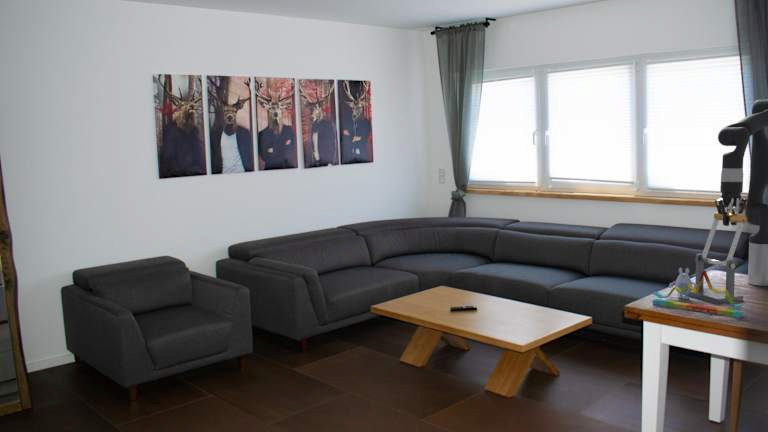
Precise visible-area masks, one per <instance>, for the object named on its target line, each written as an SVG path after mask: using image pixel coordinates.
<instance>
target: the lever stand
mask: <svg viewBox="0 0 768 432" xmlns="http://www.w3.org/2000/svg"><path fill="white" fill-rule="evenodd" d="M702 254H703V253H696V254H695V282H694V283H695V284H697V285H698V283H699V280H700V277H701V274H702V271H705V266H704V265H705V262H701V261H700V258H701V256H702ZM726 260H727V259H726ZM726 260H725V262H726V267H725V268H726V269H725V272H726V273H725V274H726V275H725V290H727V291H728V293H729V295H730V296H731V298H732V300H733V302H734V303H738V302H744V295H741V294H738V293H735V275H736V272H735V271H736V269H735V268H736V259H732V260H727V261H726ZM704 279H705V277H704V276H703V279H702V281H701V284H700V287H699V290H698V292H697V293H694V292H693V291H692V290H691V292H690V293H689V294H687V296H689V298H695V299H696V300H697V299H698V300H700V301H704V302H708V303H711V304H715V305H723V304H730V302H729V300H728V298H727V296H726V294H725V293H716V292H714V291H712V290H710V289H709V287H708V286H707V287H704V282H705V281H704ZM714 288H715V287H714ZM715 289H718V290H721V289H720V288H715Z"/></svg>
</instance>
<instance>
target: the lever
mask: <svg viewBox="0 0 768 432" xmlns="http://www.w3.org/2000/svg"><path fill="white" fill-rule="evenodd" d="M729 216H730V218H729V223H731V222H736V223H737V224H738V225H737V228H736V231H735V233H734V237H733V240H732V243H731V245H730V249H729V252H728V254H727V258H726V260H725V261H721V260H719V259H718V260H717V259H713V258H707V256H708V253H709V251H710V248H711V245H712V241H713V239H714V235H715V234H716V231H717V227H718V224H719V222H720V221H722V222H723V215H721V214H719V213H718V211H716V212H715V213H714V214H713V222H712V225H711V228H710V231H709V234H708V236H707V239H706V242H705V245H704V248H703V250H702V253H701V254H702V256H701V258H700V261H701V262H704V264H705V263H706V264H711V265H715V266H719V267H723V268H726V261H727V260H733V258H734V255H735V251H736V249H737V246H738V244H739V240H740V237H741V234H742V231H743V229H744V225H745V224H746V223H748V222H747V217H746V216H745V215H743V214H739V215H736V214H731V213H730V214H729Z"/></svg>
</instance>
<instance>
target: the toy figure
mask: <svg viewBox="0 0 768 432" xmlns="http://www.w3.org/2000/svg"><path fill="white" fill-rule="evenodd" d="M678 273H679V274H678V276H677V278H676V280H674V281H672V282H670V283H669V284H668V288H670V289H672V288H673V287H676V286H677V287H678V288H680V289H681V290H684V289H685V288H686V287H687V286H688V285H692V286H693V285H694V286H693V287H694V288H695V289H696V288H697V284H695V283H696V282H693V281H692V280H691V277H690V276H689V273H690V268H689V267H686V268H685V272H683V268H682V267H679V268H678ZM675 291H676V292H677V293H678V294H679V295H677V298H678V299H682V300H683V299H685V300H689V299H690V296H687V294H689V293H690V292H691V289H690V288H689V287H688V288H687V289H686V290H685V291H684V292H682V293H679V292H678V291H677V290H675Z"/></svg>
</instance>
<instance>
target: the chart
mask: <svg viewBox="0 0 768 432" xmlns="http://www.w3.org/2000/svg"><path fill="white" fill-rule="evenodd" d="M703 276H704V279H705V282H706V284H707V288H708V287H709V289H710V290H712V291H714V292H716V293H725V294H726V296H727V298H728V300H729V302H730V303H729V304H730V307H732V308H742V307H743V306H744V305H743V304H735V302H733V300H732V298H731V296H730V295H729V293H728V291H727V290H726V289H725V290H724V289H723V290H722V289H720V290H718V289H719V288H716V289H715V287H713V286H712V285H713V284H712V283H711V281H710V277H709V276H708V274H707V271H706V270H704V271H702V274H701V277H700V280H699V283H698V285H697V288H696V289H695V288H694V286H693V284H692V285H688V286H687V287H686V288H685V289H684V290H681V289H680V288H678V287H677V286H676V287H675V286H673V287H672V288H671V290H670V292H669V293H668V294H667V295H663V294H661V293H660V292H658V291H653V293H652V294H653V295H654V296H656V297H658V298H654V299H652V305H654V306H660V307H667V308H672V309H680V310H686V311H693V312H699V313H706V314H710V315H711V314H712V315H717V316H725V317H732V318H737V319H740V318H742V317H743V310H742V311H741V310H737V309H729V308H728V309H727V308H722V307H715V306H707V305H701V304H694V303H687V302H683V301H682V302H681V301H674V300H667V298H669V297H671V295H672V293H674V291H676V290H677V291H678V292H679V293H682V292H684V291H685V290H686V289H687V288H688V287H689V288H690V289H691V290H692V291H693V292H694V293H697V292H698V290H699V287H700V284H701V281H702V279H703ZM677 291H676V292H677ZM678 292H677V293H678ZM679 293H678V294H679ZM659 298H660V299H659Z"/></svg>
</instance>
